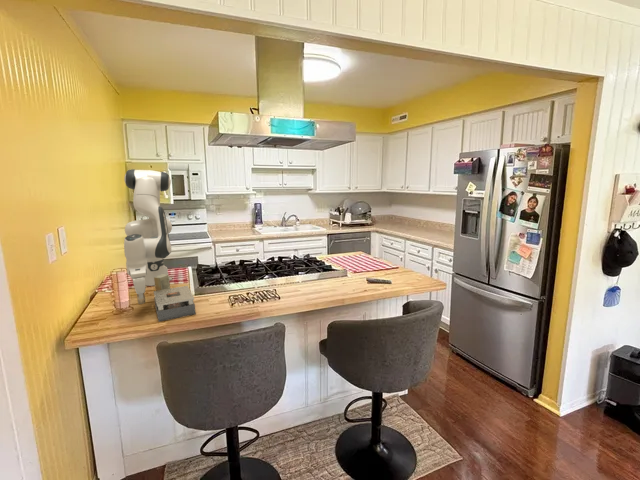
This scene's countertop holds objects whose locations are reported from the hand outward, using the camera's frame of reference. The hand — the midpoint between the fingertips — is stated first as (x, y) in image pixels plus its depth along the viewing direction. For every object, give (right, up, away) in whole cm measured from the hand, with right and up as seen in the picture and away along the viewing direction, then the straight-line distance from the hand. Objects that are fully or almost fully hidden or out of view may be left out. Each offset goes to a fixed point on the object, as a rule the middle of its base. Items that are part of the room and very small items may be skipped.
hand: (141, 296), depth 163 cm
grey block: (0, -3, +1) cm, 3 cm away
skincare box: (+1, -4, +21) cm, 21 cm away
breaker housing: (+15, -7, +3) cm, 17 cm away
